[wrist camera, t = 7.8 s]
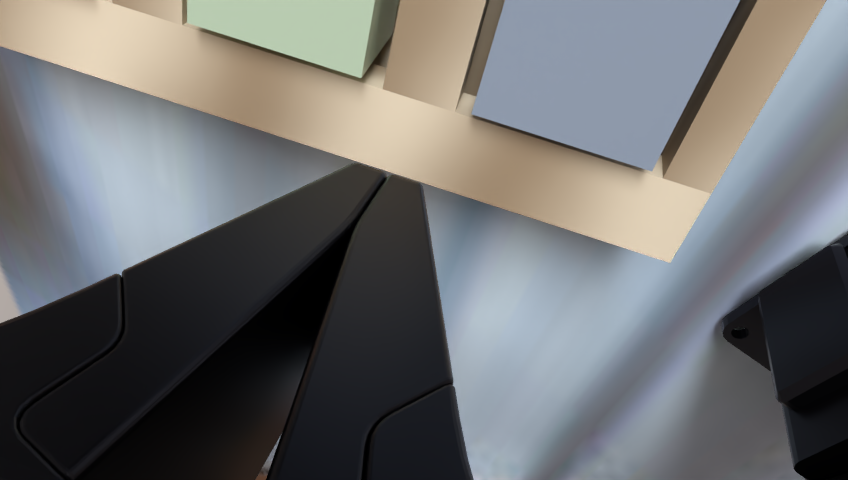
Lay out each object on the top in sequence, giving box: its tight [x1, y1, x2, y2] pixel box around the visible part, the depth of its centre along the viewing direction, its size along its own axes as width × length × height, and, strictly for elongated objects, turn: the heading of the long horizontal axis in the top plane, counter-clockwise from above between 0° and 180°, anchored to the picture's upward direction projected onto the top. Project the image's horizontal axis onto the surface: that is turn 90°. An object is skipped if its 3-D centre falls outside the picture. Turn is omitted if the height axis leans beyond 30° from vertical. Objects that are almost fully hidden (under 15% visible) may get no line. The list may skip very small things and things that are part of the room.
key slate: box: [471, 0, 740, 171], centre depth 15 cm, size 4×4×2 cm
